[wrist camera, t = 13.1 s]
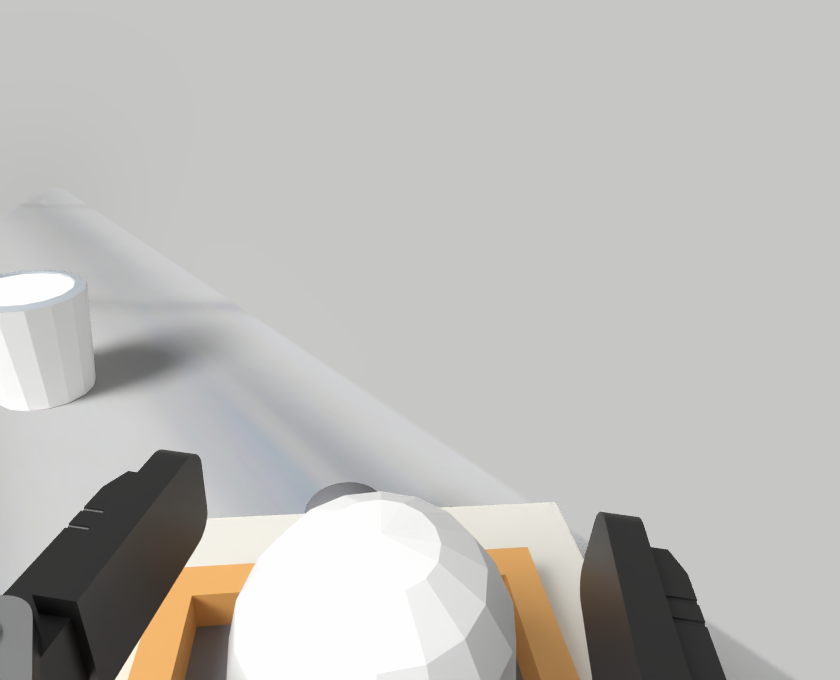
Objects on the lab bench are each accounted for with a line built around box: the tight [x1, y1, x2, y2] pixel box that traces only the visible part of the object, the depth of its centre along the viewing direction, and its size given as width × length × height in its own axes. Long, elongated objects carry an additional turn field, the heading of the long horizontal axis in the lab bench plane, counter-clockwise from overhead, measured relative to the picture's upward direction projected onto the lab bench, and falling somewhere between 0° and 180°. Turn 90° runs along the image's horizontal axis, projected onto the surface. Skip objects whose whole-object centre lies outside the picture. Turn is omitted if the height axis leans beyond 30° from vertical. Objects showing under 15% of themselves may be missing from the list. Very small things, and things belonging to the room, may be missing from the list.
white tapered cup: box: [0, 270, 96, 411], centre depth 36 cm, size 7×7×7 cm
